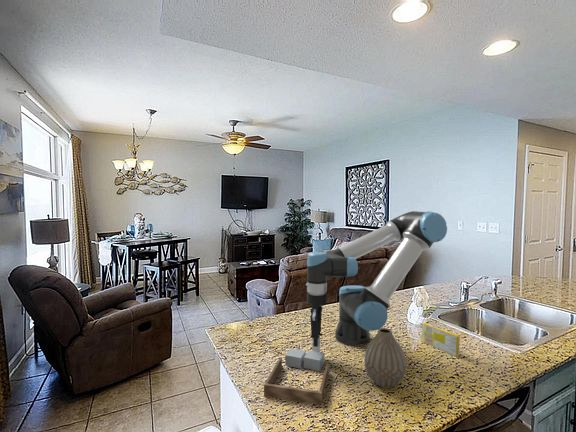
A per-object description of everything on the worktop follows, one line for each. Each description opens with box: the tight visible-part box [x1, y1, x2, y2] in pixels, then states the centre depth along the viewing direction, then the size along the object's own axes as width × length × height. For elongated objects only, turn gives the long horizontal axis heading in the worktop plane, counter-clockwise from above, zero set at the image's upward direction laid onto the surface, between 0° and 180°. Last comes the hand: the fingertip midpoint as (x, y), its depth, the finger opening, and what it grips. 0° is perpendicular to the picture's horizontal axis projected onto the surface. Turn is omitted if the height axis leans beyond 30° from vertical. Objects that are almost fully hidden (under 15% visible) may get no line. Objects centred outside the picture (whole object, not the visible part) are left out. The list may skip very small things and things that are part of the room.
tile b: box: [284, 347, 307, 369], centre depth 115 cm, size 6×6×4 cm
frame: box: [263, 356, 330, 406], centre depth 102 cm, size 18×18×4 cm
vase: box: [363, 327, 407, 389], centre depth 102 cm, size 13×13×18 cm
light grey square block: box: [303, 349, 325, 372], centre depth 113 cm, size 6×6×4 cm
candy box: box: [421, 322, 461, 358], centre depth 127 cm, size 16×2×8 cm, turn 28°
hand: (316, 353), depth 120 cm, fingers closed
